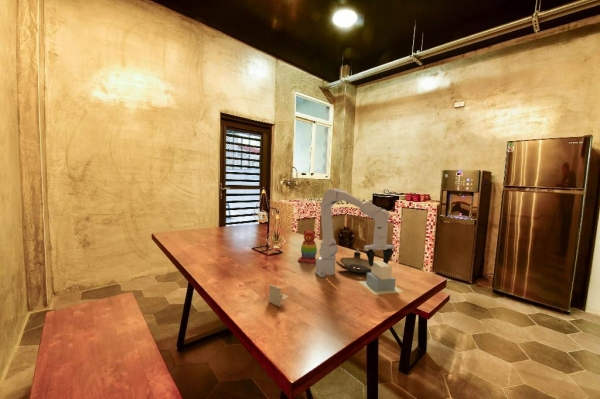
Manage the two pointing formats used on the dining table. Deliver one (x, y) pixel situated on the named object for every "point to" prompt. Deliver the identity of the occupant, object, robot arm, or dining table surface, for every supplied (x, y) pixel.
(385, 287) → the blue base brick
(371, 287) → the baseplate
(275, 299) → the grey tabbed plate
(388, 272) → the cream brick
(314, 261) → the stacking bear
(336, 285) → the dining table surface
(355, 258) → the dark shallow pan
